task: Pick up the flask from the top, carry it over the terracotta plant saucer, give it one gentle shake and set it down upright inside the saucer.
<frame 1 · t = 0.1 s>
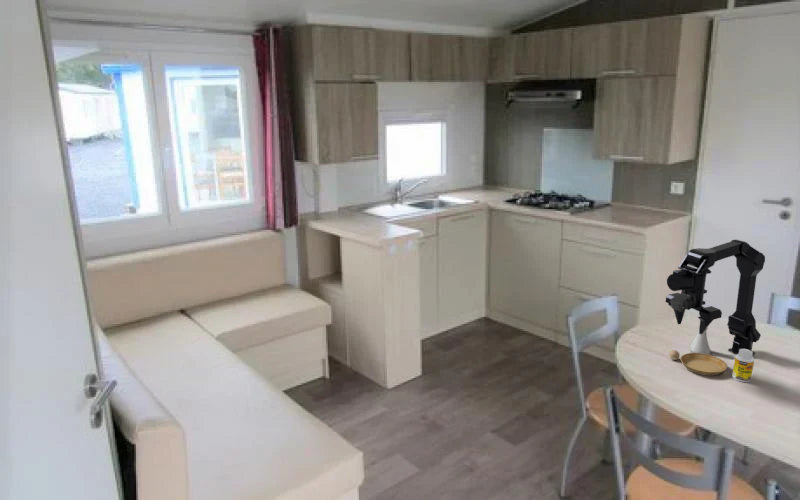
hand: (689, 328, 202), 15 cm above the table, tool pointing down, fingers open, 9 cm apart
supplement bottle: (741, 379, 198), on the table
beige ball: (674, 355, 212), point 2 cm above the table
plant saucer: (702, 369, 206), on the table
flask: (699, 351, 218), on the table
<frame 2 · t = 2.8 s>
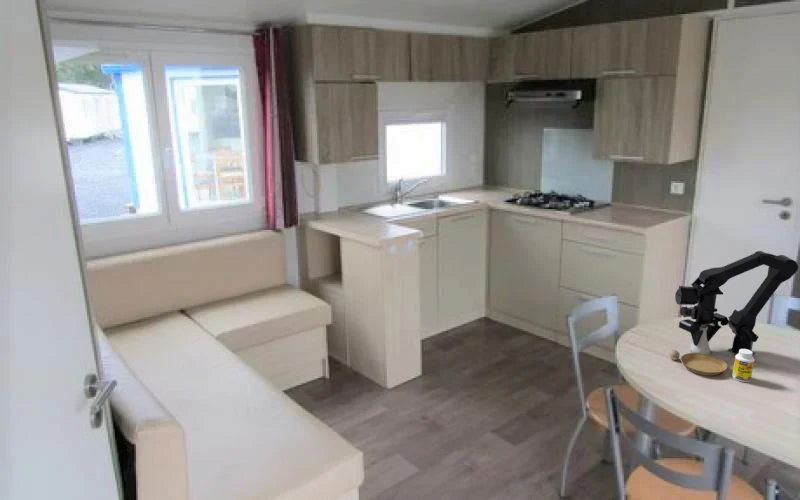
hand: (700, 343, 217), 3 cm above the table, tool pointing down, fingers closed on flask, 5 cm apart
flask: (699, 351, 218), on the table, touching gripper
everything else where it was.
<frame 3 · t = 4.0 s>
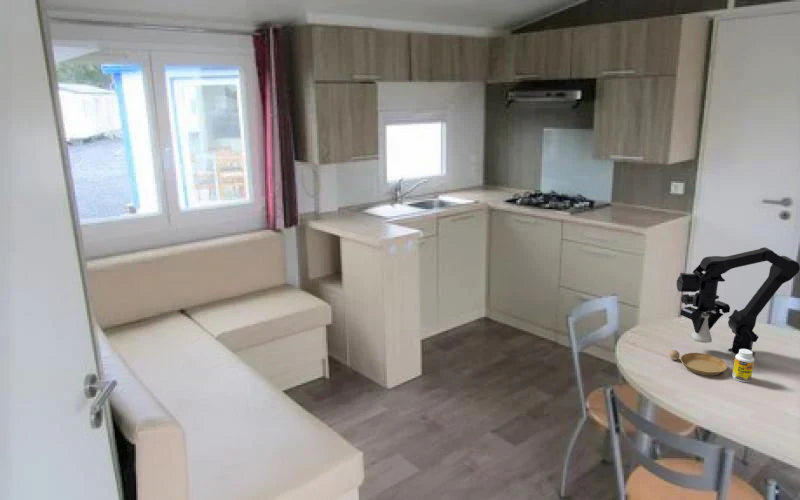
hand: (702, 331, 216), 8 cm above the table, tool pointing down, fingers closed on flask, 5 cm apart
flask: (701, 339, 217), point 5 cm above the table, touching gripper
everything else where it was.
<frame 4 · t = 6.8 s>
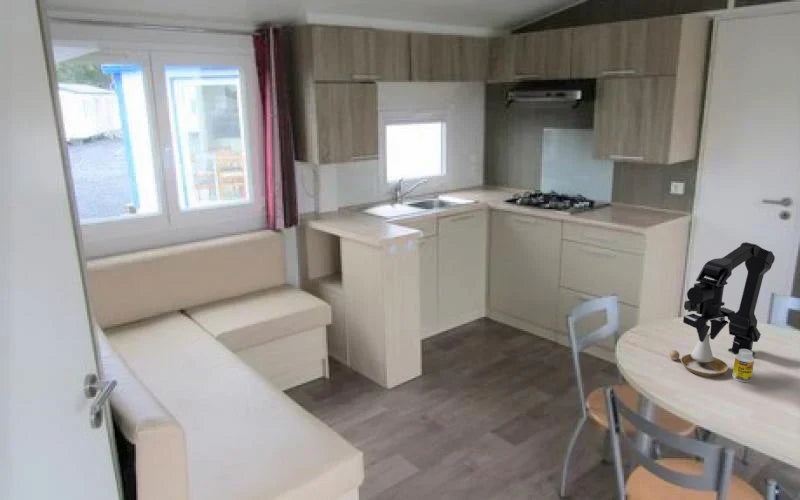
hand: (706, 340, 203), 11 cm above the table, tool pointing down, fingers open, 5 cm apart
plant saucer: (703, 370, 205), on the table, touching flask
flask: (701, 358, 208), point 2 cm above the table, touching gripper, plant saucer
everything else where it was.
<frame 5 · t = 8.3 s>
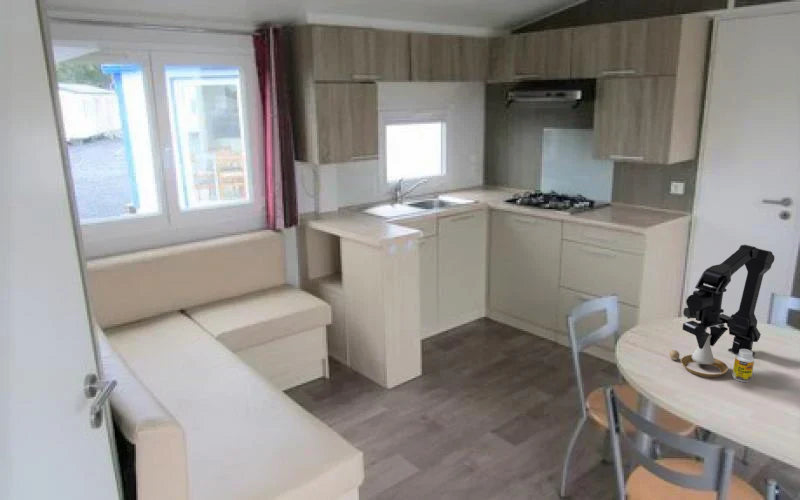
hand: (706, 347, 203), 8 cm above the table, tool pointing down, fingers open, 5 cm apart
flask: (702, 361, 207), point 2 cm above the table, touching plant saucer
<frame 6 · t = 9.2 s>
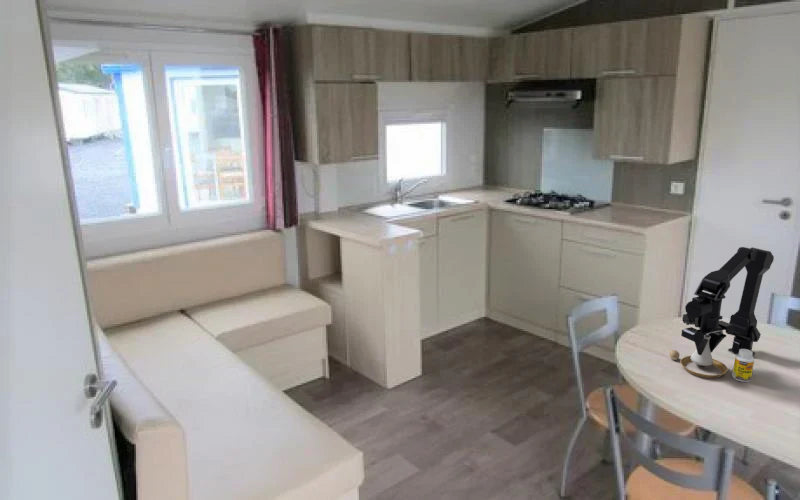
hand: (704, 353, 204), 6 cm above the table, tool pointing down, fingers open, 5 cm apart
flask: (701, 362, 206), point 2 cm above the table, touching gripper, plant saucer
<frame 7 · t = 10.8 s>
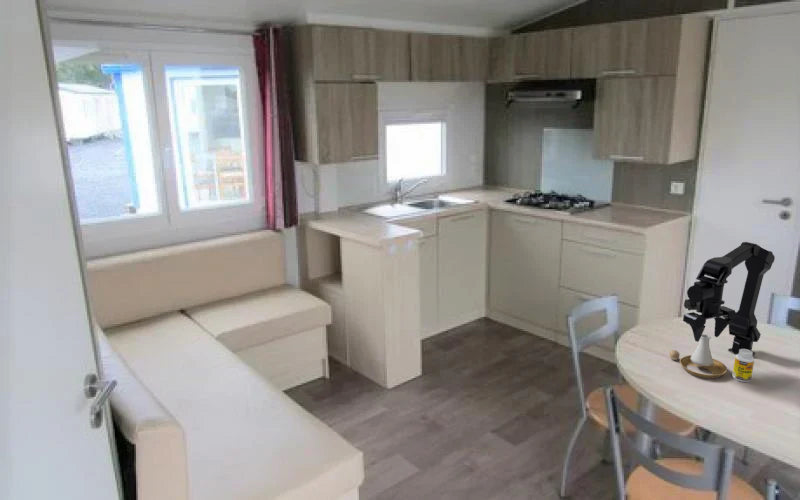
hand: (706, 339, 202), 11 cm above the table, tool pointing down, fingers open, 9 cm apart
flask: (701, 362, 205), point 2 cm above the table, touching plant saucer
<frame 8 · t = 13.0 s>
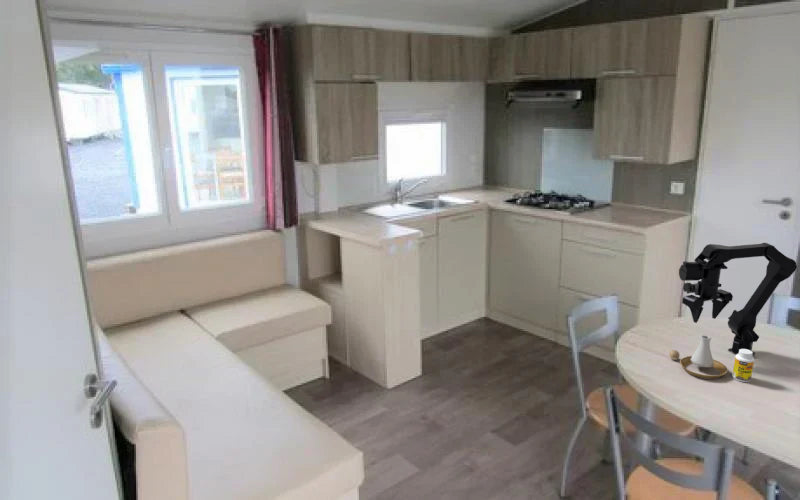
hand: (704, 320, 213), 13 cm above the table, tool pointing down, fingers open, 9 cm apart
at the end: flask 1.7 cm from the plant saucer (horizontally); flask tilted 0°; flask point 1.9 cm above the table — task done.
